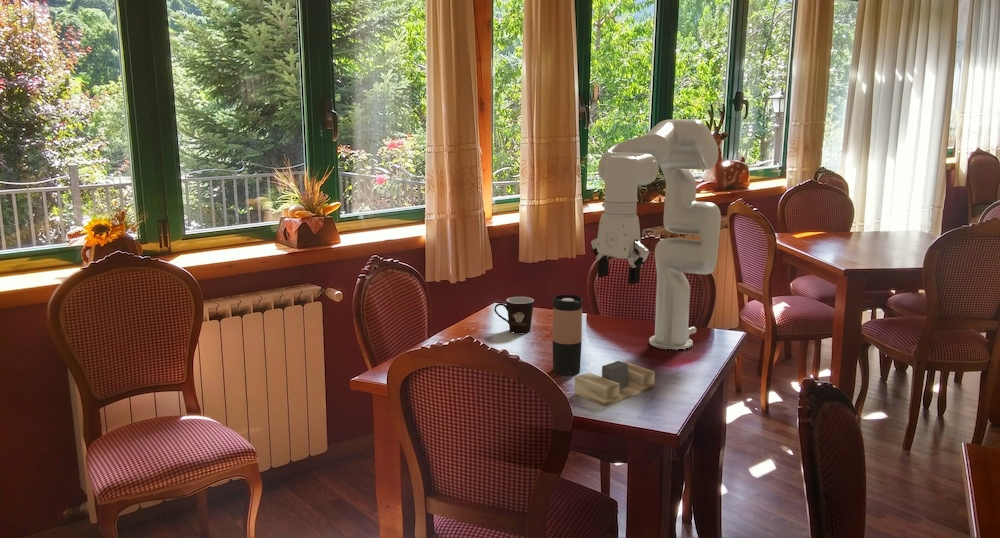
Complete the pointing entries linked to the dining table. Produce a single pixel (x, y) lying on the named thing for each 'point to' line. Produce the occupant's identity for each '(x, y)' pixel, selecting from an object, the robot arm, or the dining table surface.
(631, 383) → the notched board
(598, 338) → the dining table surface
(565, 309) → the travel mug
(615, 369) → the tab
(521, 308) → the coffee mug
